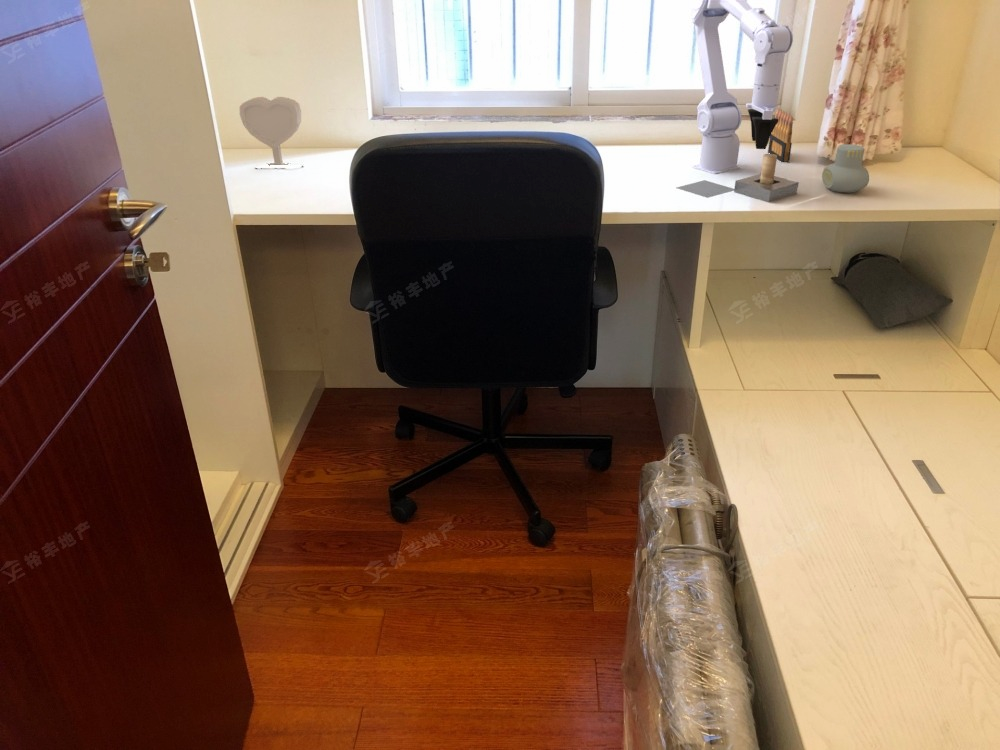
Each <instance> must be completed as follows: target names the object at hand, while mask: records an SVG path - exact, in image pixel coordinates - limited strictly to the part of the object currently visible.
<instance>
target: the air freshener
mask: <svg viewBox="0 0 1000 750" xmlns="http://www.w3.org/2000/svg"><path fill="white" fill-rule="evenodd" d="M836 148H837V149H836V153H835V158H834V162H833V163H831V164H829V165H827V166H825V167H824V168H823V170H822V173H821V178H822V179H821V180H822V183H823V185H824V187H826V188H827V189H829V191H831V192H836V193H844V194H847V193H848V194H849V193H856V192H859V191H861V190H862V189H865V188H866V187H867V186H868V184H869V183H870V172H869V171H868V169H867V168H866V167H865V166H864V165H863V160H864V159H863V158H864V153H865V148H864V146H862V145H858V144H851V143H850V144H840V145H838V146H837V147H836Z"/></svg>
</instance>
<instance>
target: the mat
mask: <svg viewBox="0 0 1000 750" xmlns="http://www.w3.org/2000/svg"><path fill="white" fill-rule="evenodd" d="M675 188H676V189H678V190H681V191H684V192H688V193H691V194H694V195H697V196H701V197H704V198H711V197H715V196H718V195H722V194H726V193H729V192H734V188H733V187H731V186H726V185H724V184H723V185H722V184H719V183H715V182H712V181H708V180H706V179H704V180H700V181H695V182H692V183H688V184H685V185H681V186H678V187H675Z"/></svg>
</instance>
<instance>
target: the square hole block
mask: <svg viewBox="0 0 1000 750" xmlns="http://www.w3.org/2000/svg"><path fill="white" fill-rule="evenodd" d="M760 177H761V173H759V174H756V175H752V176H749V177H748V176H747V177H743V178H739V179H737V180H735V181H734V188H733V189H734V190H733V192H734V194H738V195H743V196H745V197H748V198H749V197H750V198H753V199H756V200H760V201H762V202H766V203H772V202H775V201H779V200H781V199H785V198H788V197H791V196H794V195H798V194H797V193H798V189H799V188H798V187H799V182H798V181H794V180H791V179H787V178H783V177H779V176H777V175H776V176H775V175H774V181H773V184H772V185H769V186H768V185H765V184H761V183H760Z"/></svg>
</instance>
